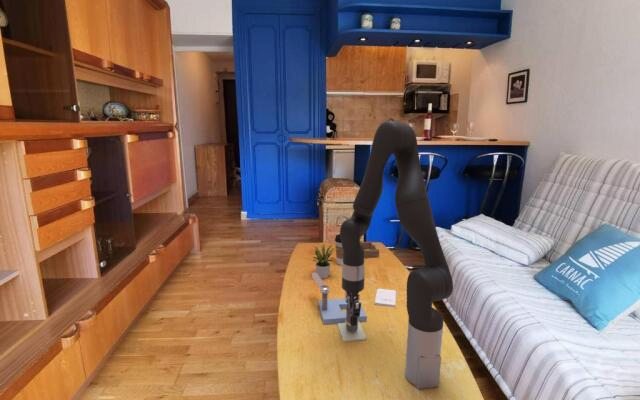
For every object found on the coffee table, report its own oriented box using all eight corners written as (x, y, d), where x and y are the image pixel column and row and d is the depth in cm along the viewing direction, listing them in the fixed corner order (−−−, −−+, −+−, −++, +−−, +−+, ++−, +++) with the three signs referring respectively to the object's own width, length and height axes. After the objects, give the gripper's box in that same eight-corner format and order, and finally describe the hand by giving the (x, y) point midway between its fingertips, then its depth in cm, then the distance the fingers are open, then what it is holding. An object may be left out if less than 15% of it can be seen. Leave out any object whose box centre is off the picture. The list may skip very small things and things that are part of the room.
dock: (366, 321, 128) (367, 299, 126) (323, 324, 126) (323, 302, 124) (357, 302, 142) (357, 282, 140) (318, 304, 140) (318, 284, 138)
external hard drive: (396, 293, 150) (395, 308, 138) (376, 291, 152) (374, 306, 140) (396, 290, 150) (395, 304, 138) (377, 288, 151) (374, 302, 140)
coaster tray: (378, 257, 188) (379, 250, 188) (353, 258, 187) (353, 251, 186) (371, 248, 202) (371, 241, 201) (347, 249, 200) (348, 242, 199)
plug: (359, 331, 119) (360, 310, 118) (346, 332, 119) (347, 311, 117) (356, 324, 124) (357, 303, 122) (344, 324, 123) (344, 304, 121)
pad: (366, 339, 117) (366, 338, 117) (343, 341, 116) (343, 340, 116) (359, 323, 127) (359, 321, 127) (337, 324, 126) (337, 323, 126)
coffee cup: (332, 265, 178) (332, 237, 175) (336, 259, 186) (337, 232, 183) (348, 267, 176) (349, 238, 172) (352, 261, 184) (352, 233, 180)
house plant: (343, 271, 171) (343, 239, 167) (337, 284, 157) (338, 249, 154) (315, 268, 174) (314, 237, 170) (307, 280, 161) (306, 247, 157)
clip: (318, 275, 145) (318, 271, 144) (330, 292, 130) (331, 288, 130) (309, 276, 144) (309, 273, 143) (321, 294, 129) (321, 290, 129)
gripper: (369, 284, 111) (368, 332, 114) (358, 265, 124) (357, 309, 128) (346, 285, 110) (345, 334, 113) (338, 267, 123) (337, 310, 127)
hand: (352, 320), depth 121 cm, fingers closed on plug, 4 cm apart
